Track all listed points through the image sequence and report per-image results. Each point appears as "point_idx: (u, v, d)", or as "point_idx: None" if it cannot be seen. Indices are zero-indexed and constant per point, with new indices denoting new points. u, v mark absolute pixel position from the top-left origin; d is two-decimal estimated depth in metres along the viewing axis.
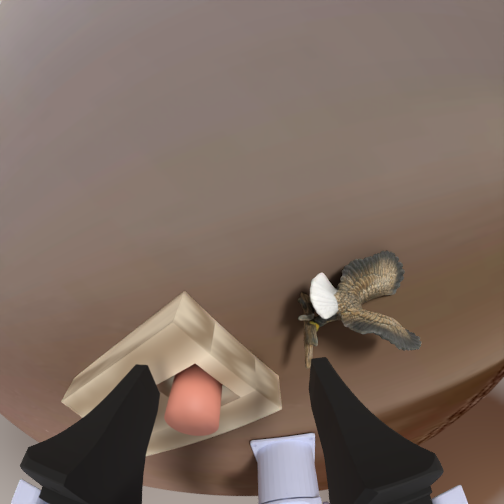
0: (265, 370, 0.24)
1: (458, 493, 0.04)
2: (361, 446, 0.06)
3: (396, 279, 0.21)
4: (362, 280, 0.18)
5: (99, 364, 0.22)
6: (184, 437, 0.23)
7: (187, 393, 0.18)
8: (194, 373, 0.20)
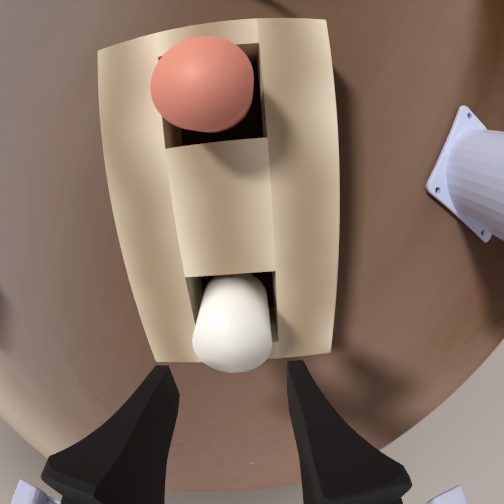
0: None
1: (458, 493, 0.04)
2: (326, 453, 0.06)
3: None
4: None
5: None
6: (314, 219, 0.14)
7: None
8: None
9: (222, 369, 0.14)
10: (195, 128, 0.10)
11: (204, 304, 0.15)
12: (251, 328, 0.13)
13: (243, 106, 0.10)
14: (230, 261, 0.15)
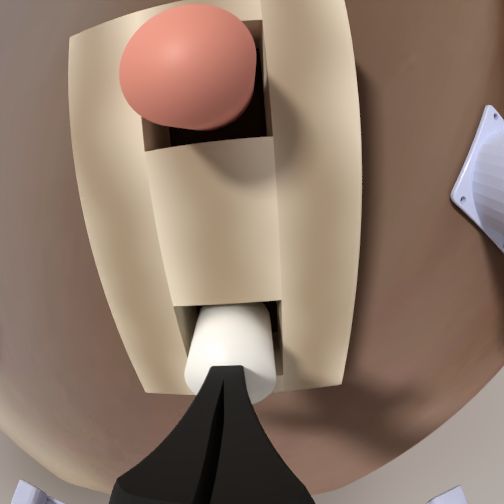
0: None
1: (458, 493, 0.04)
2: (232, 461, 0.06)
3: None
4: None
5: None
6: (330, 238, 0.12)
7: None
8: None
9: None
10: (176, 124, 0.07)
11: (198, 332, 0.13)
12: (252, 364, 0.11)
13: (242, 93, 0.07)
14: (227, 289, 0.12)
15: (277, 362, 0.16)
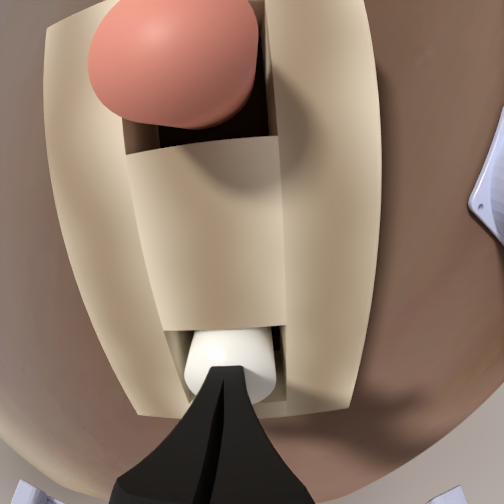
0: None
1: (458, 493, 0.04)
2: (232, 461, 0.06)
3: None
4: None
5: None
6: (343, 257, 0.10)
7: None
8: None
9: None
10: (155, 120, 0.05)
11: (198, 332, 0.13)
12: (252, 364, 0.11)
13: (239, 79, 0.05)
14: (223, 313, 0.11)
15: (280, 386, 0.14)
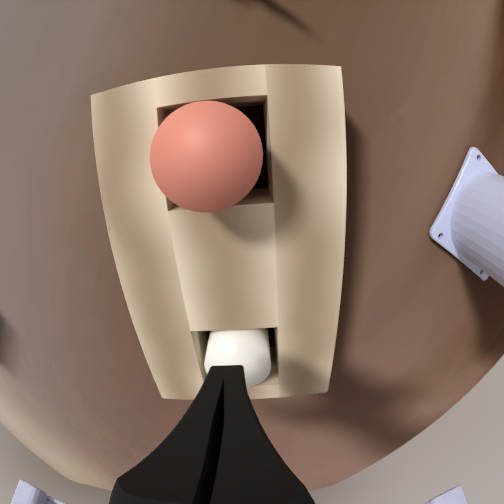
0: None
1: (458, 493, 0.04)
2: (232, 461, 0.06)
3: None
4: None
5: None
6: (317, 281, 0.15)
7: None
8: None
9: None
10: (200, 210, 0.10)
11: (214, 332, 0.17)
12: (254, 354, 0.16)
13: (251, 187, 0.10)
14: (234, 318, 0.15)
15: (274, 373, 0.19)
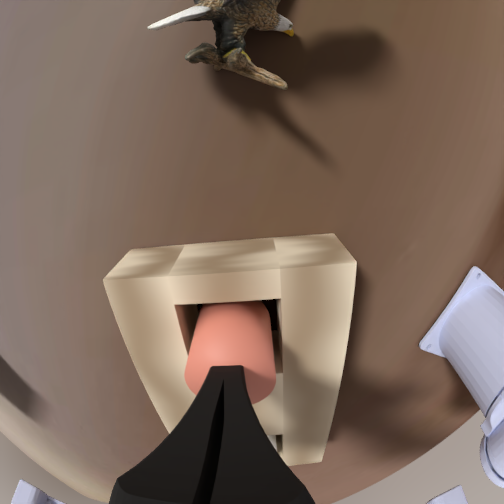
0: (300, 239, 0.15)
1: (458, 493, 0.04)
2: (232, 461, 0.06)
3: None
4: None
5: None
6: (315, 411, 0.16)
7: (192, 344, 0.12)
8: (201, 315, 0.14)
9: None
10: None
11: None
12: None
13: (266, 395, 0.12)
14: None
15: (279, 450, 0.20)
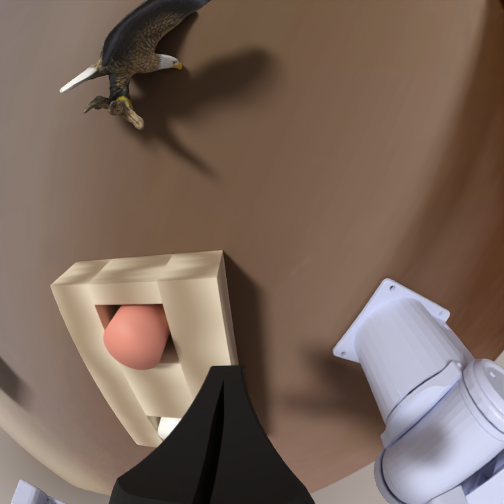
0: (191, 256, 0.19)
1: (458, 493, 0.04)
2: (232, 461, 0.06)
3: None
4: None
5: None
6: None
7: None
8: None
9: None
10: (135, 368, 0.17)
11: None
12: None
13: (158, 362, 0.17)
14: (171, 413, 0.21)
15: None
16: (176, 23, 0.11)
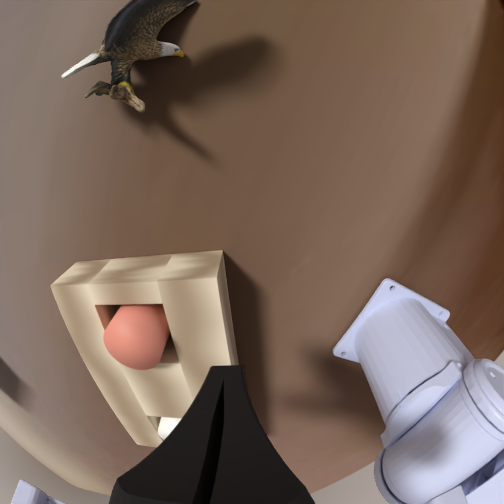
0: (191, 256, 0.19)
1: (458, 493, 0.04)
2: (232, 461, 0.06)
3: None
4: None
5: None
6: None
7: None
8: None
9: None
10: (135, 368, 0.17)
11: None
12: None
13: (158, 362, 0.17)
14: (171, 413, 0.21)
15: None
16: (178, 11, 0.11)
